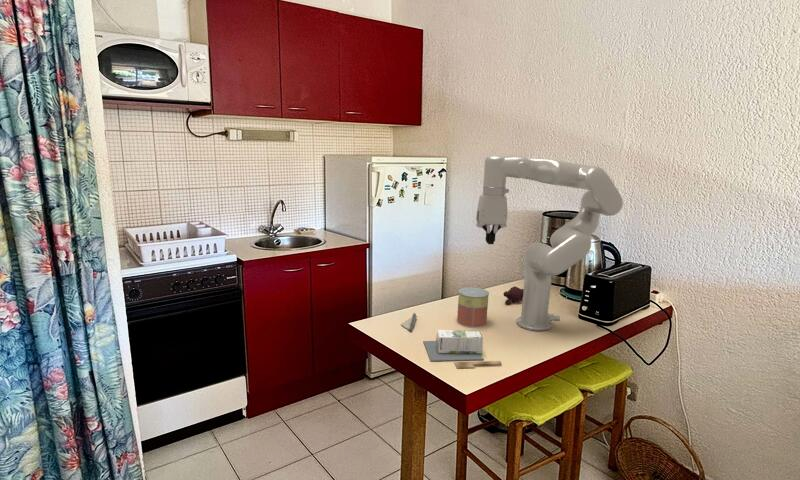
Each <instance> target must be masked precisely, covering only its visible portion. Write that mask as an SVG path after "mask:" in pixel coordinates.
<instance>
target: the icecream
mask: <svg viewBox="0 0 800 480" xmlns="http://www.w3.org/2000/svg"><path fill="white" fill-rule="evenodd" d="M523 292H524V288H520V287H517V286H516V285H514V286H513V287H510V288H509V290H508V291H507V290H505V291H504V292H503V296H504V298H506V301H505V303H504V304H505V305H506V306H509V305H510V304H511V303H519V302H521V301H522V302H523Z"/></svg>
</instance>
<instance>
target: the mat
mask: <svg viewBox="0 0 800 480" xmlns="http://www.w3.org/2000/svg"><path fill="white" fill-rule="evenodd" d="M423 344H424V347H425V351H426V353H427V356H428V359H429V362H430V363H431V362H432V363H433V362H436V363H437V362H479V361H485V359H484V357H483V356H482V355H483V354H458V353H438V349H437V345H436V340H423Z"/></svg>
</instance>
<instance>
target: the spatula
mask: <svg viewBox="0 0 800 480" xmlns="http://www.w3.org/2000/svg"><path fill="white" fill-rule="evenodd" d="M453 363H454V366H455V368H456V369H457V370H464V369H466V370H467V369H469V370H471V369H476V368H477V367H481V368H482V367H502V364H503V363H502V362H501V360H488V361H487V360H486V361H485V360H478V361H453Z"/></svg>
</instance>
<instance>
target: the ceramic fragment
mask: <svg viewBox="0 0 800 480" xmlns="http://www.w3.org/2000/svg"><path fill="white" fill-rule="evenodd" d="M417 318H418V315H416V313H415V312H413V313H412V316H411V317H410V318H408V319H407V320H405V321H404V322H402V323H401V324H400V326H401V327H402V328H403V329H406V330H408V331H409V332H410V333H413V330H414V326H415V323H416V320H417Z"/></svg>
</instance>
